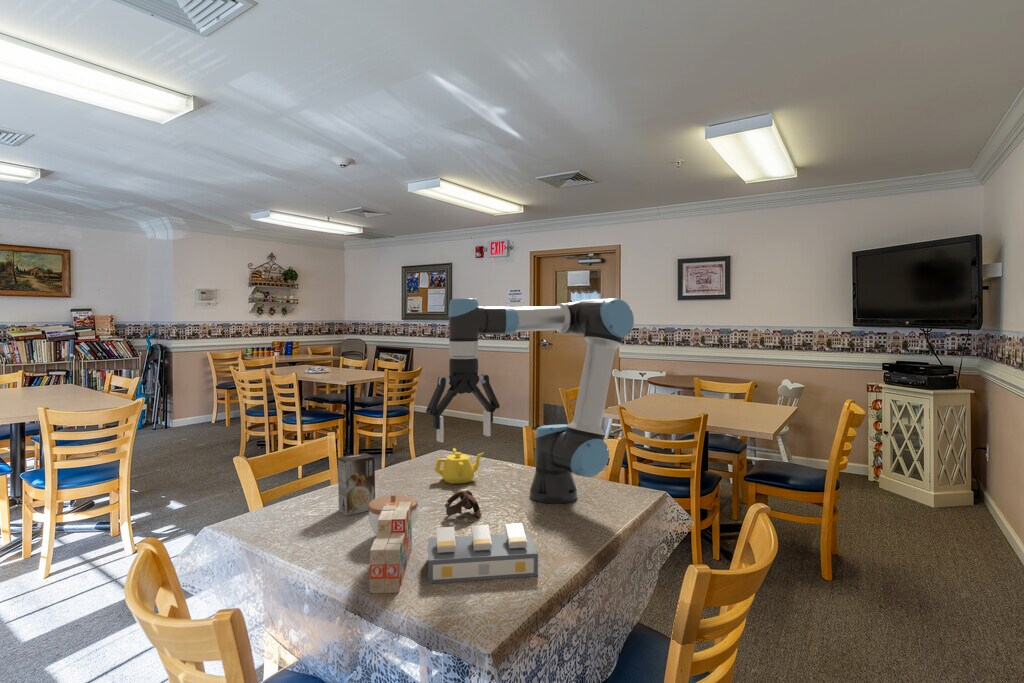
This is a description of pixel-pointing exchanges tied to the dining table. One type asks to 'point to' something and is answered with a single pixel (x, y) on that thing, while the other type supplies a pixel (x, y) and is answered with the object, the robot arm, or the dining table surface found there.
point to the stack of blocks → (391, 548)
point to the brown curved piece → (462, 503)
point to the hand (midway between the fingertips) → (464, 438)
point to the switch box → (481, 561)
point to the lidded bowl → (379, 503)
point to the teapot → (457, 468)
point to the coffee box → (356, 483)
